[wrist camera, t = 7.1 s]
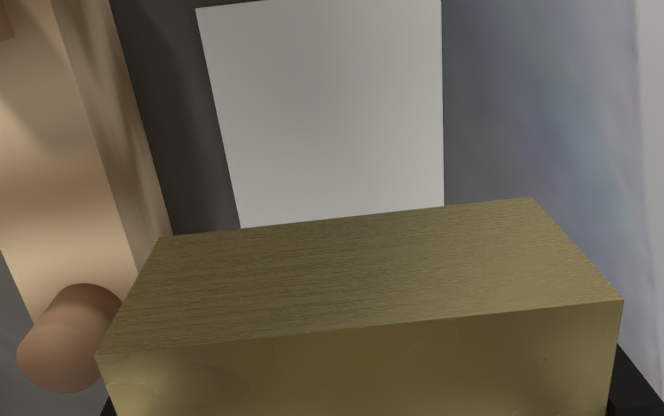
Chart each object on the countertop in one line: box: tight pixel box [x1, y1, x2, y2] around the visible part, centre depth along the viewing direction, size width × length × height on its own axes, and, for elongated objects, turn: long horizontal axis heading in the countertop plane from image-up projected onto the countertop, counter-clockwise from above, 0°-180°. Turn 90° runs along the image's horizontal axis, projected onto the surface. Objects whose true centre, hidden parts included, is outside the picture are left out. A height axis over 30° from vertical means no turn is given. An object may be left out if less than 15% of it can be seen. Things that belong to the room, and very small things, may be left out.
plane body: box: [0, 0, 174, 393], centre depth 20 cm, size 16×5×9 cm, turn 6°
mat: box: [195, 0, 444, 228], centre depth 24 cm, size 12×10×1 cm
